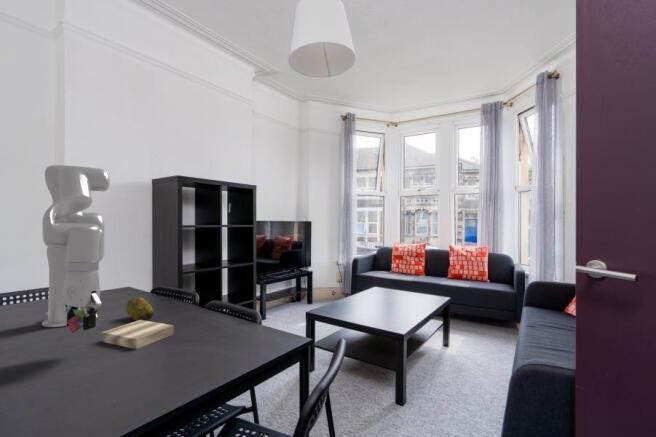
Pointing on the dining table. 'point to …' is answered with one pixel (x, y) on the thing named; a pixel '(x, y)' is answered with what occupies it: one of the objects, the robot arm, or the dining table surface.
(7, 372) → the dining table surface
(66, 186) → the robot arm
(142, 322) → the birch platform
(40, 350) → the dining table surface
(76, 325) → the geometric puzzle
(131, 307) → the potato
